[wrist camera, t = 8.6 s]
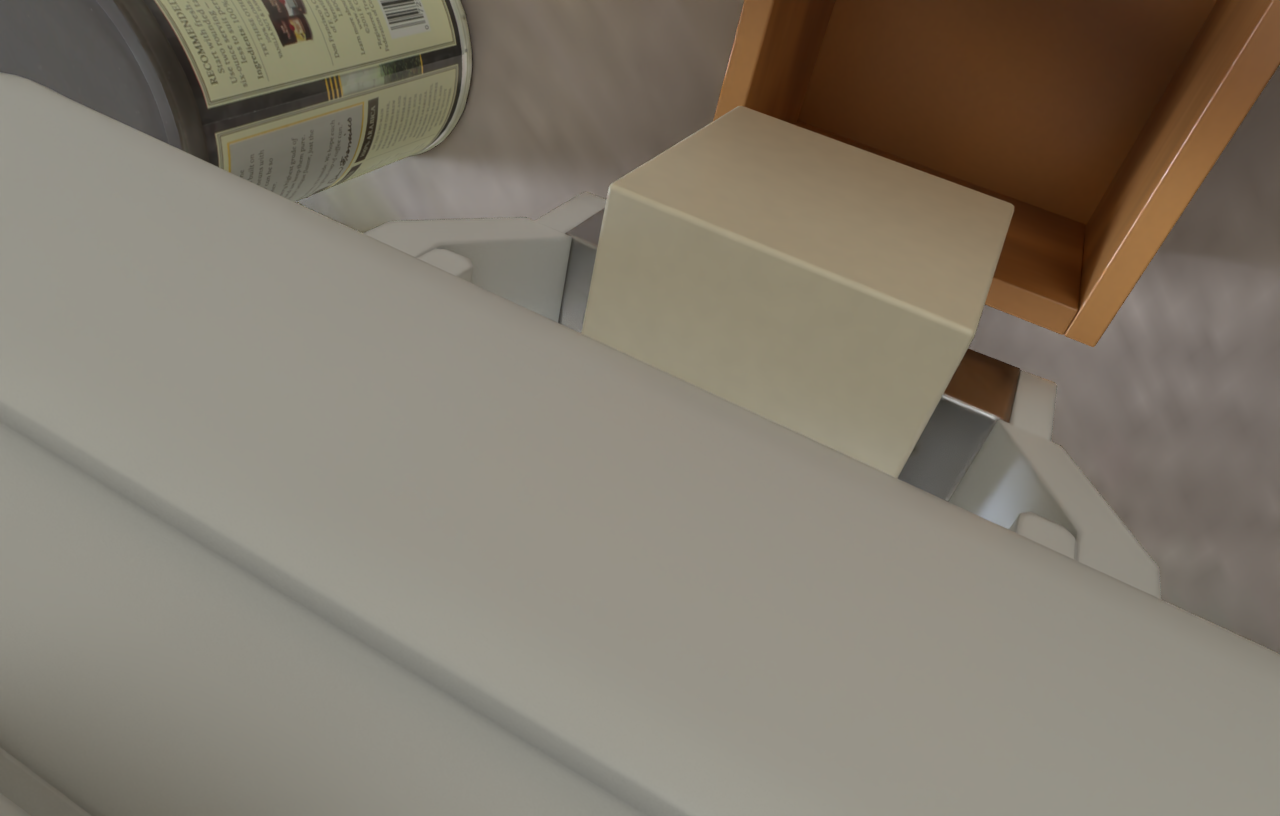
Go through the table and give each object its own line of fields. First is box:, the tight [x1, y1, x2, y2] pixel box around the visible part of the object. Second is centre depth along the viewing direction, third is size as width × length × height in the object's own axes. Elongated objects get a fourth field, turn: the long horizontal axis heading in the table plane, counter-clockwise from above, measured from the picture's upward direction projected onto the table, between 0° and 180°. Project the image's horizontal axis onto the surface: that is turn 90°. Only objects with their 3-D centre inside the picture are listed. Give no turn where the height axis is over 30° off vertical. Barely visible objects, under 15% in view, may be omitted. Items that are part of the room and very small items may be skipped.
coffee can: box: [0, 0, 472, 202], centre depth 30 cm, size 10×10×14 cm
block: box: [581, 106, 1014, 478], centre depth 12 cm, size 4×4×4 cm
